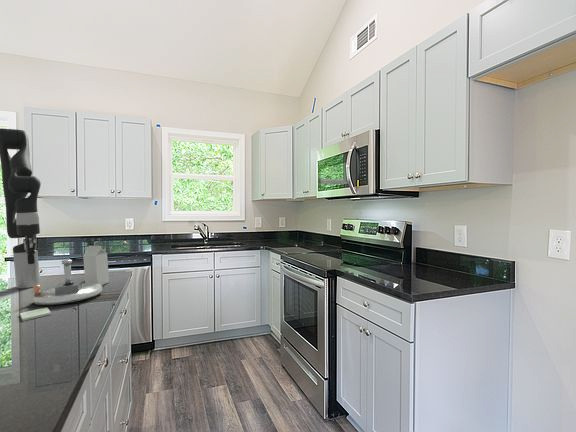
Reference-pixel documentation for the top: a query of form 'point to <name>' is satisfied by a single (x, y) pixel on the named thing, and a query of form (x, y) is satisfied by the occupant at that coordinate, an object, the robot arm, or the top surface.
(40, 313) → the pad
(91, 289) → the light grey disc
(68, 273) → the metal pin
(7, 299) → the top surface
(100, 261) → the milk carton
